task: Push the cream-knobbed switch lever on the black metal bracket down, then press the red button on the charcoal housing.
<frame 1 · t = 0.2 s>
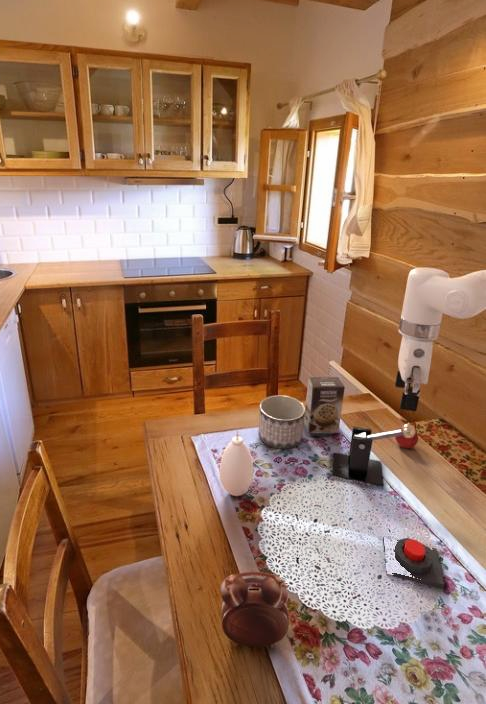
hand: (404, 397, 91), 25 cm above the table, tool pointing down, fingers open, 9 cm apart
cookie box: (320, 429, 122), on the table
planter: (280, 438, 117), on the table
onion: (404, 448, 114), on the table
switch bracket: (356, 471, 105), on the table
sauce bottle: (235, 492, 98), on the table
red button: (414, 550, 79), point 3 cm above the table, slide at 0.1 cm
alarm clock: (252, 637, 68), on the table
switch lever: (384, 435, 99), point 12 cm above the table, hinge at 25.0°
button box: (411, 563, 80), on the table
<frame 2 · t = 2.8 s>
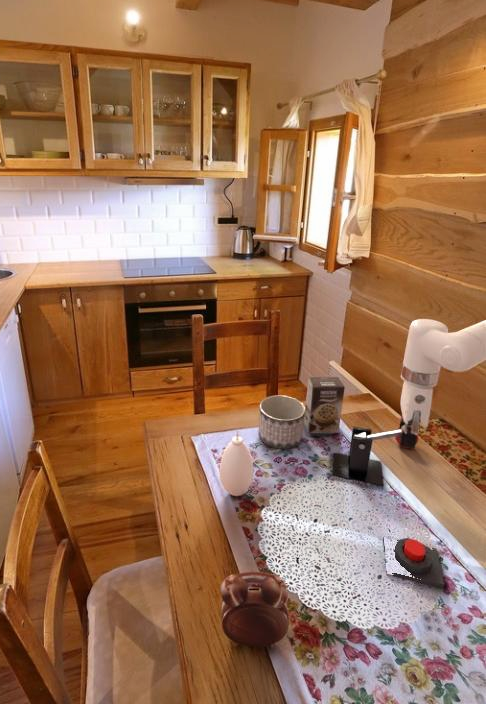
hand: (406, 440, 98), 12 cm above the table, tool pointing down, fingers closed on switch lever, 3 cm apart
switch lever: (384, 435, 99), point 12 cm above the table, hinge at 25.0°, touching gripper
everything else where it was.
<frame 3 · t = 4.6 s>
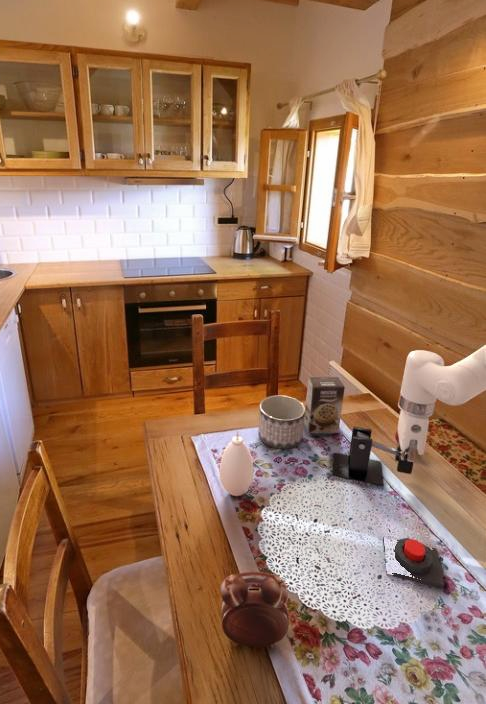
hand: (402, 466, 100), 4 cm above the table, tool pointing down, fingers closed on switch lever, 3 cm apart
switch lever: (384, 447, 100), point 9 cm above the table, hinge at -13.1°, touching gripper
everything else where it was.
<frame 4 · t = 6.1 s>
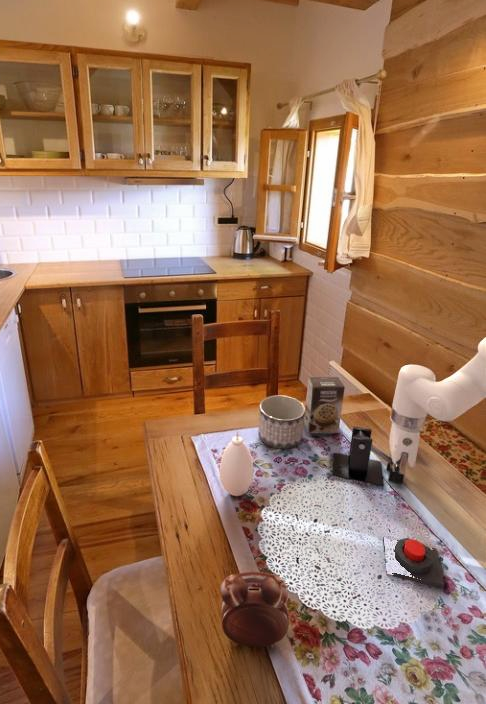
hand: (393, 476, 102), 1 cm above the table, tool pointing down, fingers closed on switch lever, 3 cm apart
switch lever: (379, 453, 101), point 7 cm above the table, hinge at -33.0°, touching gripper
everything else where it was.
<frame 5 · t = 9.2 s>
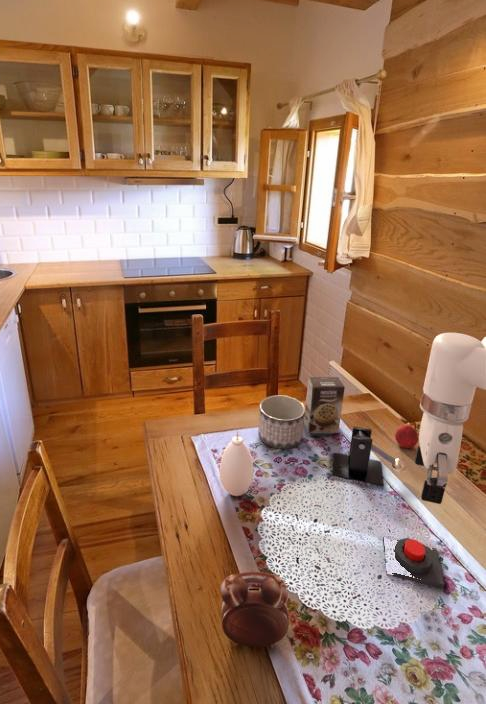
hand: (427, 482, 76), 18 cm above the table, tool pointing down, fingers open, 9 cm apart
switch lever: (380, 452, 101), point 7 cm above the table, hinge at -30.5°
everything else where it was.
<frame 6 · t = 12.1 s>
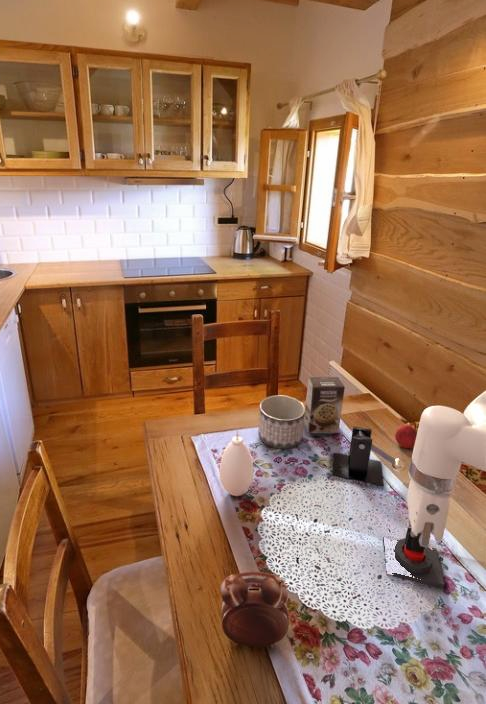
hand: (413, 547, 79), 4 cm above the table, tool pointing down, fingers closed
red button: (414, 551, 79), point 3 cm above the table, slide at -0.2 cm, touching gripper
everything else where it was.
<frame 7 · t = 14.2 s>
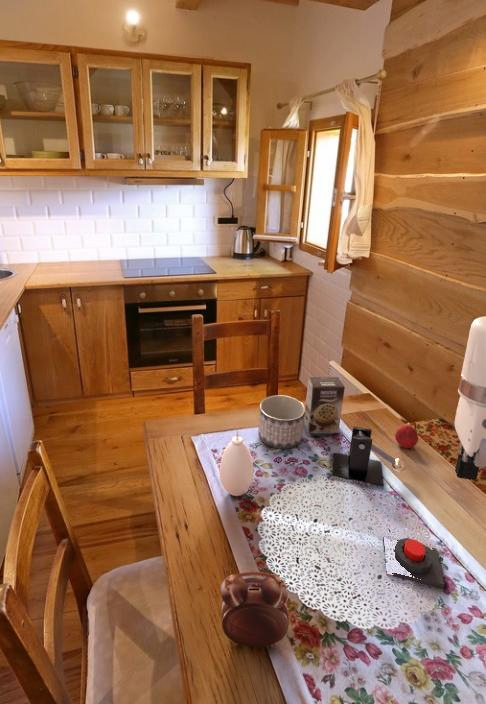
hand: (465, 475, 75), 20 cm above the table, tool pointing down, fingers closed
red button: (414, 550, 79), point 3 cm above the table, slide at 0.1 cm
everything else where it was.
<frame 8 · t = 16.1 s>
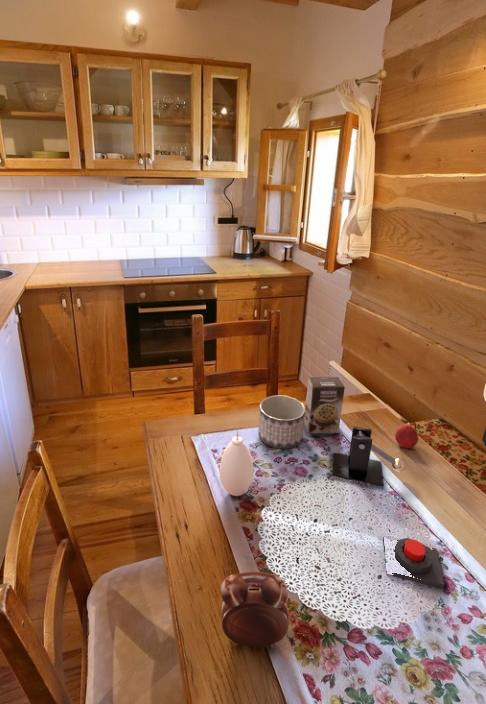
nothing on the table moved.
at the end: switch lever at -30° (first picture: +25°); red button pushed in 1.1 cm at the most during the clip, back to where it started at the end; red button slide at 0.1 cm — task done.
